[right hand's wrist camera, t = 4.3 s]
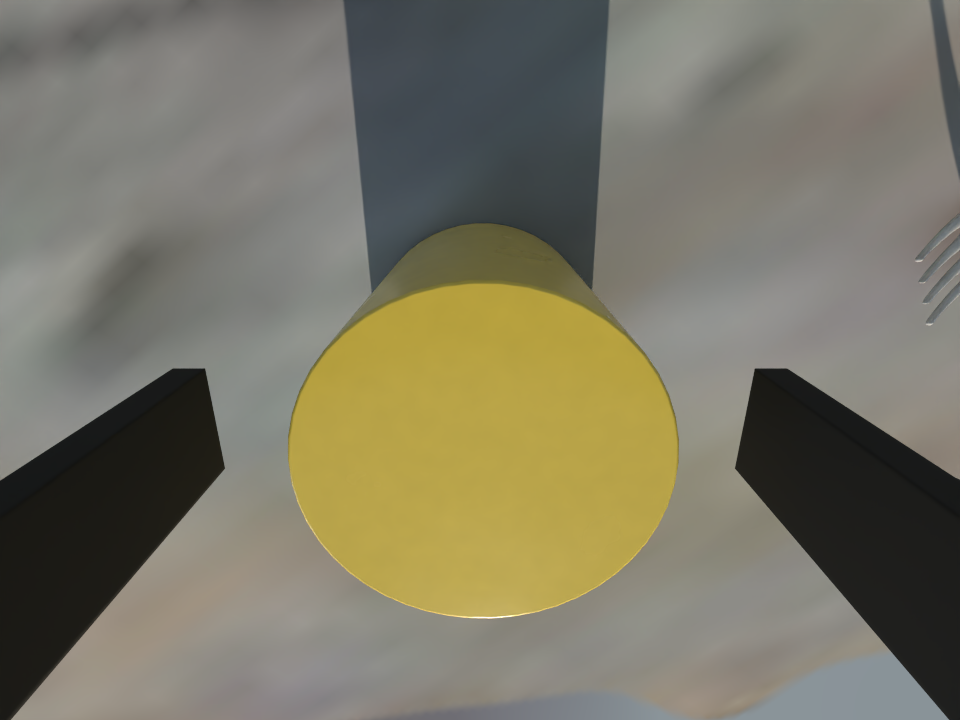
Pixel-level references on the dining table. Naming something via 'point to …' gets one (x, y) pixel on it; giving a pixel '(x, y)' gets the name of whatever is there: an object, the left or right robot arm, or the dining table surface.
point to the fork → (951, 273)
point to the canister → (483, 432)
